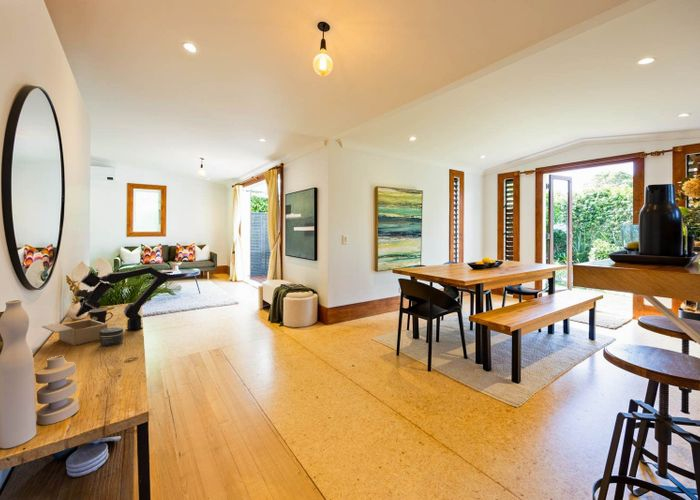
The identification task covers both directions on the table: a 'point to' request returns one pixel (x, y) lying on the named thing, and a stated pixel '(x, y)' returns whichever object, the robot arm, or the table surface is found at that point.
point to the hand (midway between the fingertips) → (76, 316)
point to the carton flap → (57, 327)
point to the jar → (111, 336)
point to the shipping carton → (82, 332)
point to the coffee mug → (99, 315)
